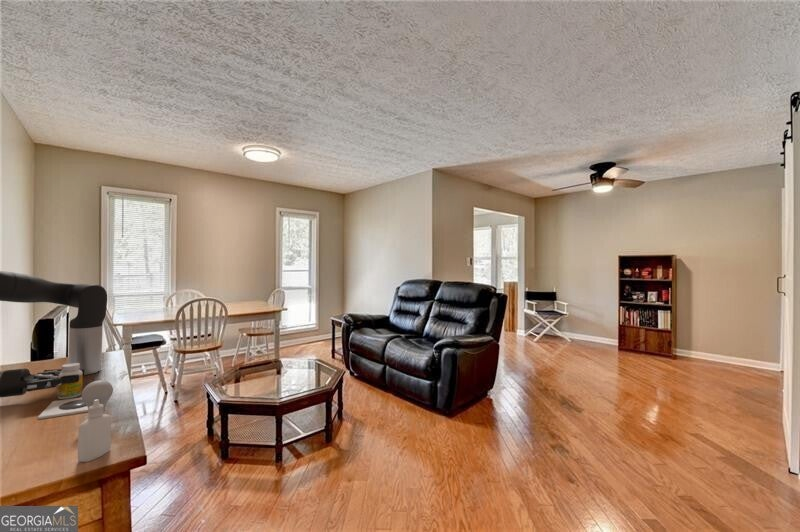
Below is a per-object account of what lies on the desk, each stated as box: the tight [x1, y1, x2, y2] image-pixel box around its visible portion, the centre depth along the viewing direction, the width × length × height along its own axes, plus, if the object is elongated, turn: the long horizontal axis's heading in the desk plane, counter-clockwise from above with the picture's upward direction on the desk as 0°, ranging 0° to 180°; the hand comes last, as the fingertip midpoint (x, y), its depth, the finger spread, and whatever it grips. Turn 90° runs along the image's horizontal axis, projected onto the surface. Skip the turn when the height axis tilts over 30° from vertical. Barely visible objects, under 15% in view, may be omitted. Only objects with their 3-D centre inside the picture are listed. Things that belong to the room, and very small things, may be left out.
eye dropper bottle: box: [77, 399, 112, 463], centre depth 73 cm, size 4×6×12 cm
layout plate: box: [37, 396, 88, 420], centre depth 98 cm, size 12×13×1 cm
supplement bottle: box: [57, 363, 84, 400], centre depth 105 cm, size 5×5×10 cm
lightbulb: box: [81, 379, 114, 414], centre depth 88 cm, size 6×6×11 cm
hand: (81, 375), depth 106 cm, fingers closed on supplement bottle, 5 cm apart
